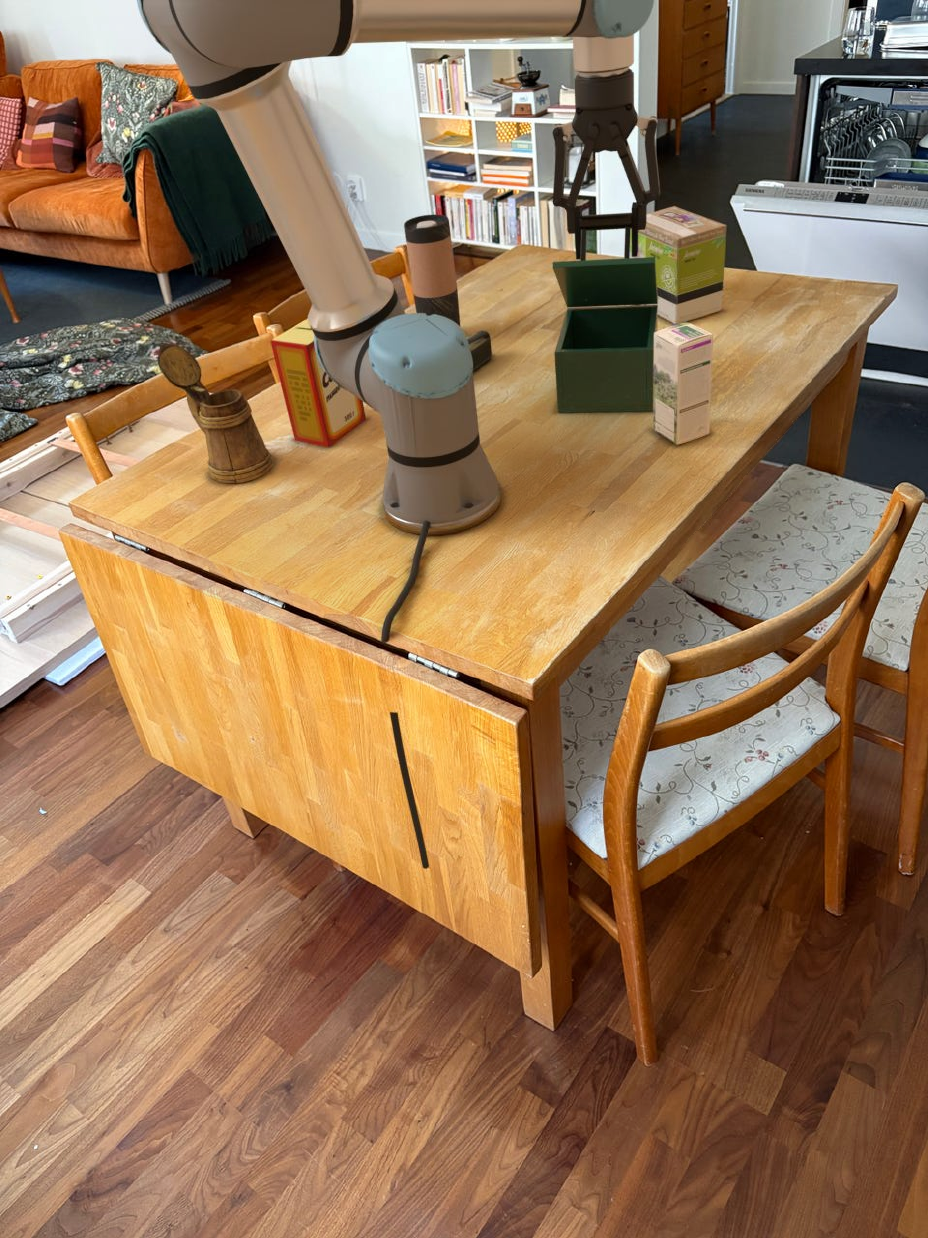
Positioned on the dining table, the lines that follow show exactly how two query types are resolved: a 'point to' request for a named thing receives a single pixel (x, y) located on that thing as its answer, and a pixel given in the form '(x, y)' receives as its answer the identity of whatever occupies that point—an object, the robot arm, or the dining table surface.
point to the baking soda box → (313, 391)
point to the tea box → (684, 262)
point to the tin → (606, 359)
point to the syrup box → (682, 382)
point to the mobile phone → (480, 348)
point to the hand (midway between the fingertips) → (607, 254)
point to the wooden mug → (218, 420)
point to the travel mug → (432, 266)
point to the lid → (607, 271)
